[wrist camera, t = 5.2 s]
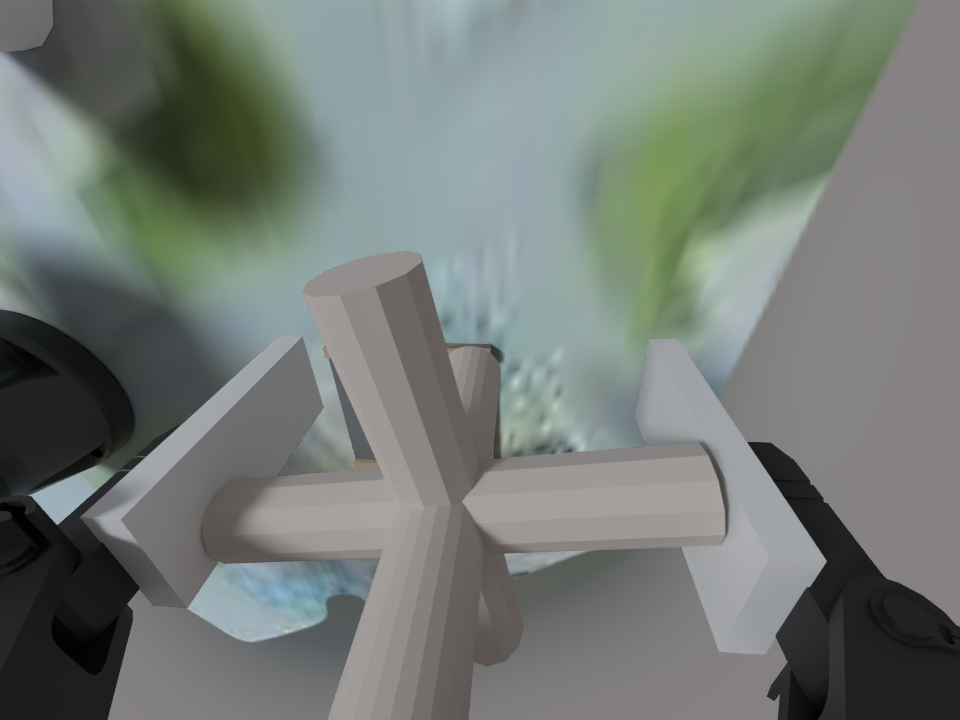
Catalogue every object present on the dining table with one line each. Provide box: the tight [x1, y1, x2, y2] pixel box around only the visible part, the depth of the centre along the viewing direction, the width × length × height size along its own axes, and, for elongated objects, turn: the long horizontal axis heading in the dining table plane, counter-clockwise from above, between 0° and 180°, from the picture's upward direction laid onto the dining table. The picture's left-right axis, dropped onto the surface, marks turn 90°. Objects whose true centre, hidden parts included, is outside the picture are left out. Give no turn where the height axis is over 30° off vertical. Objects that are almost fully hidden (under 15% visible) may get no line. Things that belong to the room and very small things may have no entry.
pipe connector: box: [202, 251, 725, 720], centre depth 8 cm, size 10×10×10 cm
